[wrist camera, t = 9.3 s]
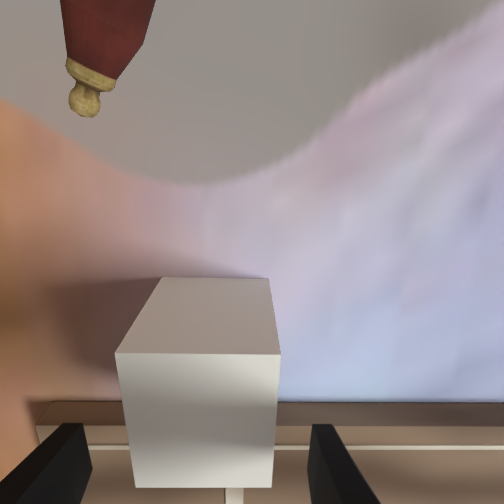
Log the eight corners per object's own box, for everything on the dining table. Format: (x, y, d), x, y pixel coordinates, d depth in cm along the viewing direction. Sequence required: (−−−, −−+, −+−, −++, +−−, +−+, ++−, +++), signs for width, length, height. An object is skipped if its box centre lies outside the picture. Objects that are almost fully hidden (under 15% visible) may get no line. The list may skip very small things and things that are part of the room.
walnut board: (538, 496, 20) (562, 525, 18) (77, 498, 19) (63, 528, 18) (587, 403, 17) (619, 428, 16) (52, 401, 17) (33, 427, 15)
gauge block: (263, 383, 17) (271, 492, 11) (171, 382, 16) (136, 493, 11) (268, 277, 14) (280, 354, 9) (162, 276, 14) (114, 353, 9)
